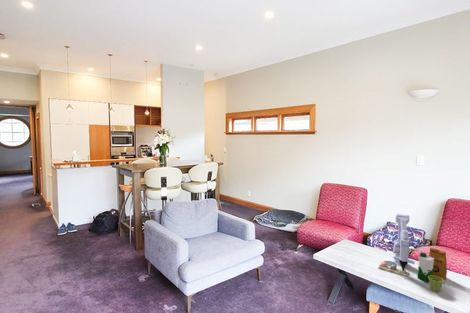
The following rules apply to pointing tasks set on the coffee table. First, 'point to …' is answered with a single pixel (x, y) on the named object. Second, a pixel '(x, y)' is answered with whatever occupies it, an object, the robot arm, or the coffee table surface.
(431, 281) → the plant pot
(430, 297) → the coffee table surface
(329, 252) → the coffee table surface
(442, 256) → the coffee package
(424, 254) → the milk carton
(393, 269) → the button grey
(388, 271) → the button panel
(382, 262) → the button terracotta
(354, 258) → the coffee table surface
